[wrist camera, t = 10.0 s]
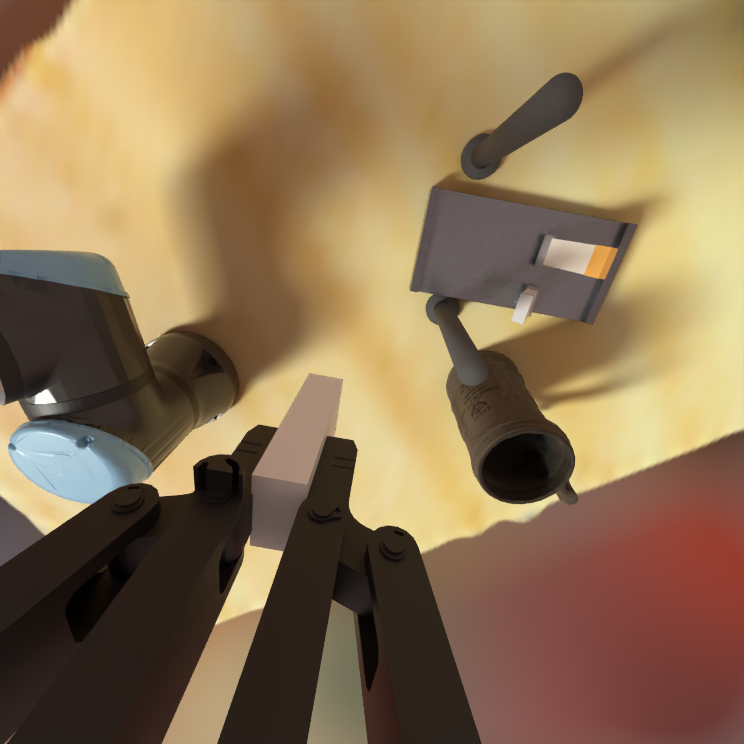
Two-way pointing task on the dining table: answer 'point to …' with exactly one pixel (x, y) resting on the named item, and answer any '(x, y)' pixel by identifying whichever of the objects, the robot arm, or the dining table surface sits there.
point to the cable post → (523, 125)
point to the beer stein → (511, 437)
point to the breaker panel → (510, 254)
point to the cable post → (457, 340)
